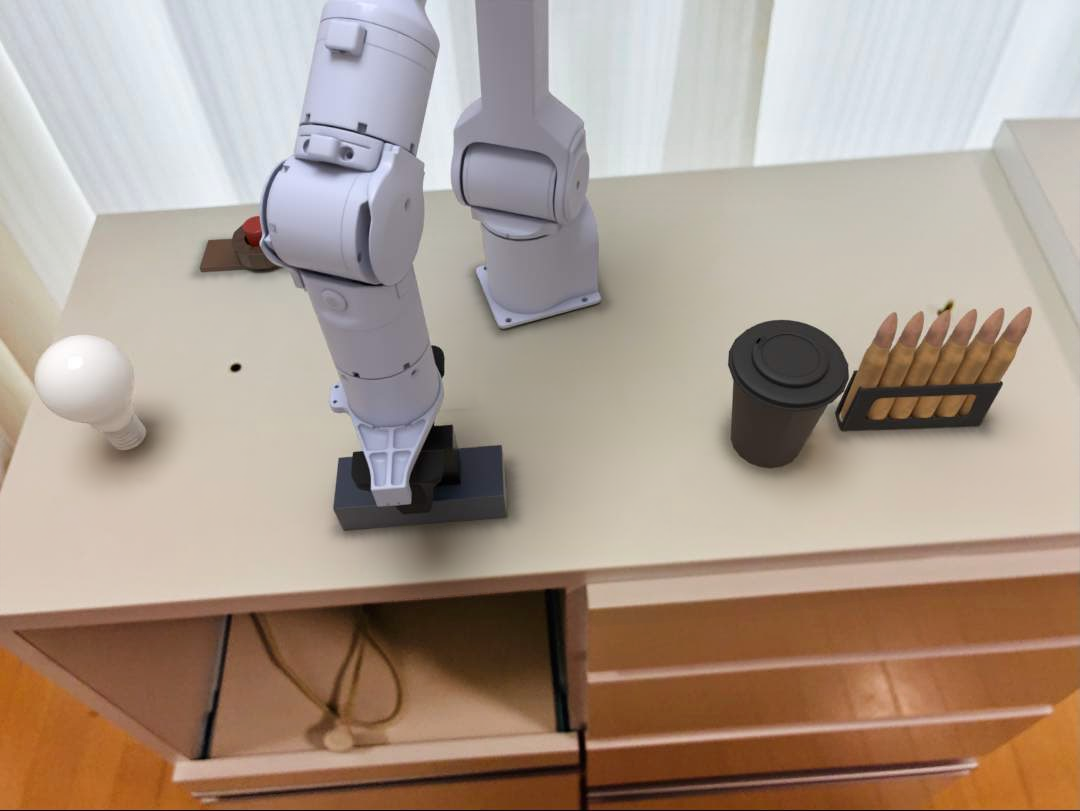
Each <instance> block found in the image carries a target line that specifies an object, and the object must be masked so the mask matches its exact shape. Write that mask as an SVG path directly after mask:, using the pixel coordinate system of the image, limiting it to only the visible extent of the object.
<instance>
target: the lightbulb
mask: <svg viewBox="0 0 1080 811" xmlns="http://www.w3.org/2000/svg"><path fill="white" fill-rule="evenodd" d="M33 375H34V376H33V381H34V387H35V391H36V393H37V394H36V395H37V396H38V398H39V399H40V401H41V403H42V404H43V405H44V406H45V407H46V408H47V409H48V410H49V411H50V412H52V413H53V414H54V415H56V416H58V417H60V418H61V419H64V420H67V421H70V422H72V423H73V422H74V423H79V424H86V425H89V426H90V427H92V429H93V428H94V429H95V430H97V431H99V432H101V433H102V434H103V435H104V436H105V438H106V439H107V440H108V442H109V443H110V444H111V445H112V446H113V448H114V449H117V450H119V451H129V450H132V449H134V448H136V447H138V446H139V445H140V444H142V442H143V441H144V440H145V439H146V436H147V429H146V427H145V425H144V424H143V422H142V421H141V419H139V417H138V416H137V414H136V413H135V407H134V406H135V405H134V402H133V401H132V396H133V393H134V388H135V382H136V381H135V379H136V378H135V370H134V367H133V365H132V362H131V360H130V359H129V357H128V356H127V354H126V353H125V351H124V350H122V349H121V347H119V345H117V344H115V343H114V342H112V341H110V340H108V339H106V338H104V337H101V336H97V335H92V334H76V335H70V336H66V337H63V338H61V339H59V340H57V341H55V342H54V343H53V344H51V345H50V346H48V347H47V349H45V350H44V352H42V354H41V355H40V357H39V359H38V361H37V362H36V365H35V369H34V374H33Z"/></svg>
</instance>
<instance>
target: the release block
mask: <svg viewBox="0 0 1080 811" xmlns="http://www.w3.org/2000/svg"><path fill="white" fill-rule="evenodd" d="M283 268H284V267H281V266H278V265H276V264H274V263H272V262H271V261H270V260H269V259H268V258H267V257H266V255H265V254H264V252H263V251H262V249H261V247H260V246H252V245H251V244H250V243H249V242H248V239H247V237H246V235H245V232H244V230H243V224H241V225H240V226H239V227H238V228H237V229H236V230H235V231H234V232H233V233H232V237H231V238H220V239H208V240H207V243H206V246H205V249H204V252H203V255H202V259H201V261H200V264H199V270H200V273H211V272H212V273H213V272H231V271H247V270H249V271H250V270H262V269H263V270H265V269H267V270H268V269H283ZM284 269H285V268H284Z"/></svg>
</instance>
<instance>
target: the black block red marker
mask: <svg viewBox="0 0 1080 811" xmlns="http://www.w3.org/2000/svg"><path fill="white" fill-rule="evenodd" d="M455 432H456V431H455V428H454V424H442V425H434V426H432V427H431V429H430V431H429V433H428V436H427V438H426V440H425V442H424V444H423V447H422V449H421V451H429V450H442V449H443V450H444V470H443V475H442V478H441V481H440V482H439V483H438V484H437V485H436V486H442V485H455V484H461V460H460V455H459V451H458V448H459V446H458V442H457V438H456V434H455Z"/></svg>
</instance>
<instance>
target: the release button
mask: <svg viewBox="0 0 1080 811" xmlns="http://www.w3.org/2000/svg"><path fill="white" fill-rule="evenodd" d="M242 225H243V230H244V232H245V235H246V237H247V239H248V242H249V243H250V244H251V245H252V246H260V240H261V238H262V229H261V224H260V215H255V216H251V217H249V218H248V219H246V220H245V221H244V222H243V224H242Z"/></svg>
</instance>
